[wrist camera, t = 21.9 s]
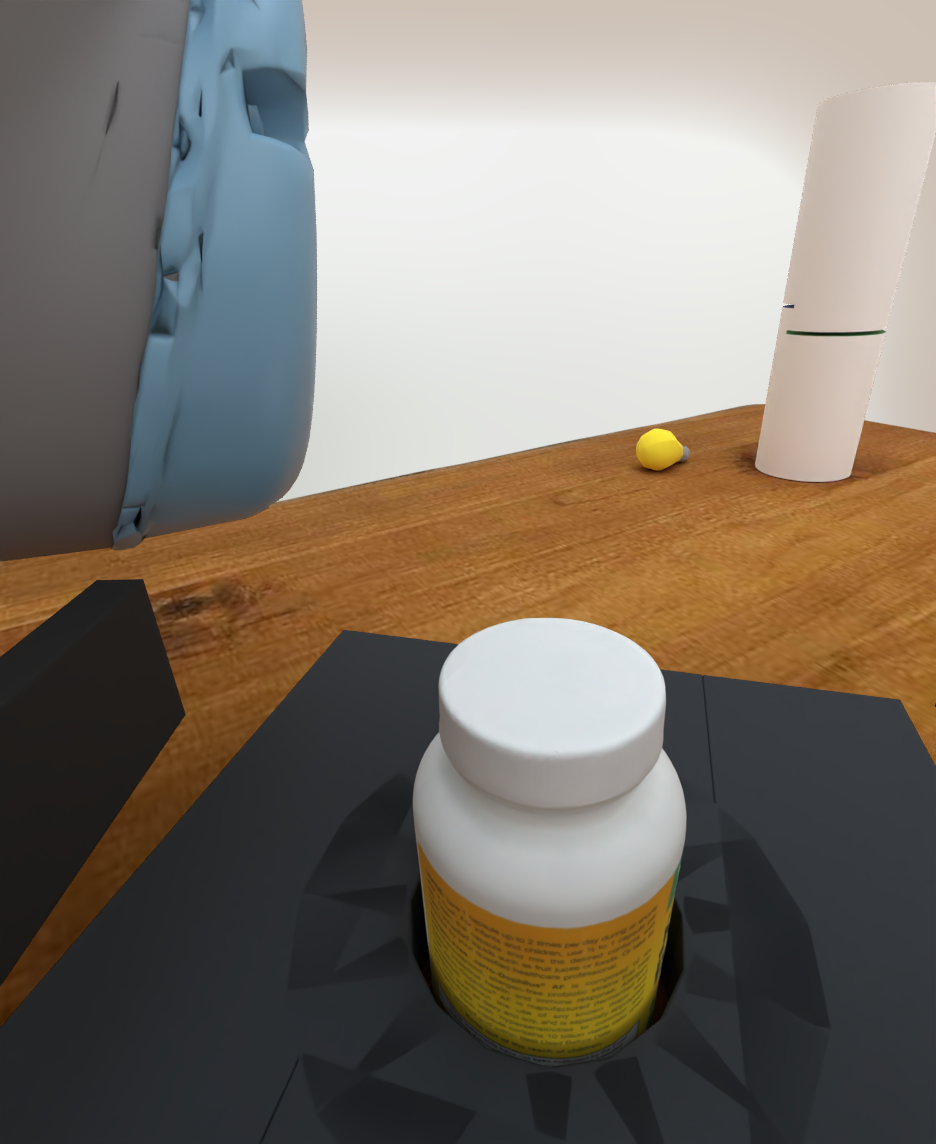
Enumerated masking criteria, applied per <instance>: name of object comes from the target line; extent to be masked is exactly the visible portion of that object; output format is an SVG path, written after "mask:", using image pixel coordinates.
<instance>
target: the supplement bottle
mask: <svg viewBox="0 0 936 1144" xmlns="http://www.w3.org/2000/svg"><path fill="white" fill-rule="evenodd" d="M438 688H439V712H440V720H439V733H438V734H437V735H436V736H435V738H434V739H433V740H432V742H431V743H430V745H429V747H428V748H427V750H426V752H425V753H424V756H423V758H422V760H421V762H420V765H419V768H418V771H417V774H416V779H415V783H414V790H413V815H414V825H415V834H416V842H417V851H418V859H419V868H420V877H421V886H422V895H423V904H424V913H425V923H426V932H427V941H428V950H429V960H430V969H431V978H432V988H433V996H434V999H435V1001H436V1003H437V1005H438V1006H439V1007H440V1008H441V1009H442V1010H444V1011H445V1012H446V1013H447V1014H448V1015H449V1016H450V1017H452V1018H453V1019H454V1020H455V1021H456V1022H457V1023H458V1024H460V1025H461V1026H462V1027H463V1028H464V1029H465V1030H466V1031H468V1032H469V1033H470V1034H471V1035H472V1036H473V1037H474V1038H476V1039H477V1040H478V1041H479V1042H480V1043H481V1044H482V1045H484V1046H485V1047H486V1048H488V1049H491V1050H494V1051H497V1052H501V1053H504V1054H507V1055H511V1056H514V1057H517V1058H520V1059H524V1060H527V1061H530V1062H534V1063H537V1064H540V1065H543V1066H547V1067H553V1066H560V1065H566V1064H572V1063H579V1062H585V1061H591V1060H598V1059H604V1058H610V1057H611V1056H612V1055H614V1054H615V1053H616V1052H618V1051H619V1050H620V1049H622V1048H623V1047H624V1046H626V1045H627V1044H628V1043H630V1042H631V1041H632V1040H634V1039H635V1038H636V1037H638V1036H639V1035H640V1034H642V1033H643V1032H644V1031H646V1030H647V1029H648V1028H650V1025H651V1020H652V1017H653V1011H654V1005H655V1000H656V995H657V990H658V983H659V978H660V973H661V967H662V961H663V957H664V954H665V948H666V941H667V934H668V928H669V923H670V917H671V912H672V906H673V901H674V896H675V890H676V886H677V881H678V876H679V870H680V865H681V859H682V854H683V849H684V843H685V835H686V818H687V815H686V805H685V799H684V793H683V789H682V786H681V783H680V780H679V777H678V775H677V772H676V770H675V768H674V766H673V765H672V763H671V761H670V759H669V758H668V756H667V754H666V753H665V751H664V750H663V749H662V745H663V729H664V719H665V709H666V690H665V682H664V678H663V675H662V673H661V671H660V669H659V667H658V665H657V664H656V663H655V661H654V660H653V658H652V657H651V656H650V655H649V654H648V653H647V652H646V651H645V650H644V649H642V648H641V647H640V646H639V645H638V644H636V643H635V642H633V641H632V640H630V639H628V638H627V637H625V636H623V635H621V634H619V633H616V632H614V631H612V630H609V629H607V628H604V627H601V626H599V625H595V624H592V623H588V622H583V621H577V620H572V619H560V618H527V619H520V620H514V621H508V622H505V623H501V624H498V625H495V626H492V627H489V628H486V629H484V630H482V631H479V632H477V633H475V634H473V635H472V636H470V637H469V638H467V639H465V640H464V641H463V642H461V643H460V644H459V645H458V646H457V647H456V648H455V649H453V651H452V652H451V653H450V654H449V656H448V657H447V659H446V661H445V663H444V664H443V667H442V669H441V673H440V677H439V685H438Z"/></svg>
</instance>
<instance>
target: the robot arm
mask: <svg viewBox="0 0 936 1144" xmlns="http://www.w3.org/2000/svg"><path fill="white" fill-rule="evenodd" d="M306 63H307V45H306V33H305V23H304V13H303V5H302V0H0V561H8V560H16V559H24V558H32V557H40V556H48V555H56V554H64V553H72V552H80V551H88V550H96V549H104V548H111V549H112V548H113V549H114V550H123V549H127V548H134V547H136V546H137V545H139V544H140V543H141V542H142V541H143V540H144V538H149V537H154V536H159V535H164V534H169V533H174V532H180V531H185V530H190V529H195V528H200V527H205V526H211V525H216V524H221V523H226V522H231V521H236V520H241V519H246V518H249V517H252V516H254V515H256V514H258V513H260V512H262V511H264V510H266V509H268V507H269V506H270V505H271V504H273V503H275V502H276V501H278V500H279V499H280V498H282V497H283V496H284V495H285V494H286V493H287V492H288V491H289V490H290V488H291V487H292V485H293V484H294V482H295V481H296V479H297V477H298V475H299V473H300V470H301V468H302V465H303V463H304V459H305V455H306V451H307V447H308V442H309V437H310V429H311V421H312V411H313V399H314V384H315V365H316V364H315V363H316V333H317V331H316V330H317V326H316V325H317V243H316V213H315V193H314V192H315V191H314V170H313V167H312V164H311V161H310V158H309V155H308V152H307V148H306V145H305V142H304V141H305V138H306V136H307V133H308V130H309V129H308V108H307V98H306V65H307V64H306ZM935 707H936V704H935ZM184 716H185V711H184V708H183V705H182V702H181V699H180V695H179V692H178V689H177V686H176V683H175V679H174V676H173V673H172V670H171V667H170V664H169V660H168V657H167V654H166V651H165V648H164V644H163V641H162V638H161V635H160V632H159V629H158V625H157V622H156V619H155V616H154V613H153V609H152V606H151V603H150V600H149V597H148V594H147V590H146V587H145V584H144V581H143V579H136V580H97V581H95V582H94V583H93V584H92V585H90V586H89V587H88V588H87V589H85V590H84V591H83V592H82V593H80V594H79V595H78V596H77V597H75V598H74V599H73V600H71V601H70V602H69V603H68V604H66V605H65V606H64V607H63V608H61V609H60V610H59V611H58V612H56V613H55V614H54V615H53V616H51V617H50V618H49V619H48V620H46V621H45V622H44V623H43V624H41V625H40V626H39V627H37V628H36V629H35V630H34V631H32V632H31V633H30V634H29V635H27V636H26V637H25V638H24V639H22V640H21V641H20V642H19V643H17V644H16V645H15V646H14V647H12V648H11V649H10V650H9V651H7V652H6V653H5V654H4V655H2V656H1V657H0V986H1V985H2V983H3V982H4V980H5V979H6V977H7V976H8V974H9V973H10V972H11V970H12V969H13V967H14V966H15V964H16V963H17V961H18V960H19V958H20V957H21V955H22V954H23V952H24V951H25V950H26V948H27V947H28V945H29V944H30V942H31V941H32V939H33V938H34V936H35V935H36V933H37V932H38V930H39V929H40V927H41V926H42V925H43V923H44V922H45V920H46V919H47V917H48V916H49V914H50V913H51V911H52V910H53V908H54V907H55V905H56V904H57V903H58V901H59V900H60V898H61V897H62V895H63V894H64V892H65V891H66V889H67V888H68V886H69V885H70V883H71V882H72V881H73V879H74V878H75V876H76V875H77V873H78V872H79V870H80V869H81V867H82V866H83V864H84V863H85V861H86V860H87V858H88V857H89V856H90V854H91V853H92V851H93V850H94V848H95V847H96V845H97V844H98V842H99V841H100V839H101V838H102V836H103V835H104V834H105V832H106V831H107V829H108V828H109V826H110V825H111V823H112V822H113V820H114V819H115V817H116V816H117V814H118V813H119V812H120V810H121V809H122V807H123V806H124V804H125V803H126V801H127V800H128V798H129V797H130V795H131V794H132V792H133V791H134V789H135V788H136V787H137V785H138V784H139V782H140V781H141V779H142V778H143V776H144V775H145V773H146V772H147V770H148V769H149V767H150V766H151V765H152V763H153V762H154V760H155V759H156V757H157V756H158V754H159V753H160V751H161V750H162V748H163V747H164V745H165V744H166V743H167V741H168V740H169V738H170V737H171V735H172V734H173V732H174V731H175V729H176V728H177V726H178V725H179V723H180V722H181V720H182V719H183V718H184Z"/></svg>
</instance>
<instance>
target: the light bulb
mask: <svg viewBox="0 0 936 1144" xmlns="http://www.w3.org/2000/svg"><path fill="white" fill-rule="evenodd" d="M636 456H637V458H638V459H639V461H640V462H641V464H642V465H643V467H645V468H648V469H652V470H656V471H660V470H663V469H665V468H667V467H669V466H671V465H672V464H674V463H675V462H678V461H680V462H683V461H685V460H687V458H688V457H689V449H688V448H687V447H686V446H682V445H681V444H680V443H679V442H678V441H677V439H676V438H675V436H674V435H673V434H672V432H670V431H667V430H662V429H653V430H651V431H649V432H647V433H645V434H644V435H642V436H641V438H640V440H639V442H638V443H637V445H636Z"/></svg>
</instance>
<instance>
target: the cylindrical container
mask: <svg viewBox="0 0 936 1144" xmlns="http://www.w3.org/2000/svg"><path fill="white" fill-rule="evenodd" d="M935 134H936V83H935V82H916V83H902V84H893V85H885V86H879V87H872V88H867V89H862V90H858V91H853V92H849V93H845V94H841V95H837V96H834V97H832V98H829V99H827V100H824V101H822V102H821V103H819V105H818V108H817V114H816V119H815V125H814V130H813V137H812V142H811V148H810V154H809V159H808V165H807V170H806V176H805V182H804V188H803V193H802V199H801V205H800V211H799V216H798V222H797V227H796V233H795V239H794V245H793V250H792V256H791V262H790V268H789V273H788V279H787V285H786V291H785V297H784V303H786V304H795V305H787V306H783V308H782V313H781V319H780V325H779V330H778V336H777V342H776V348H775V353H774V359H773V365H772V370H771V376H770V382H769V387H768V394H767V399H766V405H765V410H764V416H763V422H762V427H761V433H760V439H759V445H758V450H757V456H756V462H755V467H756V468H757V469H758V470H759V471H761V472H763V473H765V474H768V475H771V476H774V477H779V478H783V479H789V480H796V481H807V482H828V481H837V480H841V479H845V478H847V477H849V476H850V475H851V471H852V467H853V463H854V459H855V455H856V451H857V447H858V443H859V439H860V435H861V431H862V427H863V423H864V418H865V415H866V411H867V406H868V402H869V399H870V395H871V390H872V387H873V382H874V378H875V375H876V370H877V366H878V362H879V358H880V354H881V350H882V346H883V342H884V338H885V334H886V331H883V329H886V328H887V326H888V322H889V318H890V314H891V310H892V306H893V302H894V298H895V294H896V290H897V286H898V282H899V278H900V274H901V270H902V266H903V262H904V258H905V254H906V250H907V246H908V242H909V238H910V234H911V230H912V226H913V222H914V218H915V214H916V210H917V206H918V202H919V198H920V194H921V190H922V186H923V182H924V178H925V174H926V170H927V165H928V162H929V157H930V154H931V150H932V146H933V141H934V138H935Z"/></svg>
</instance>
